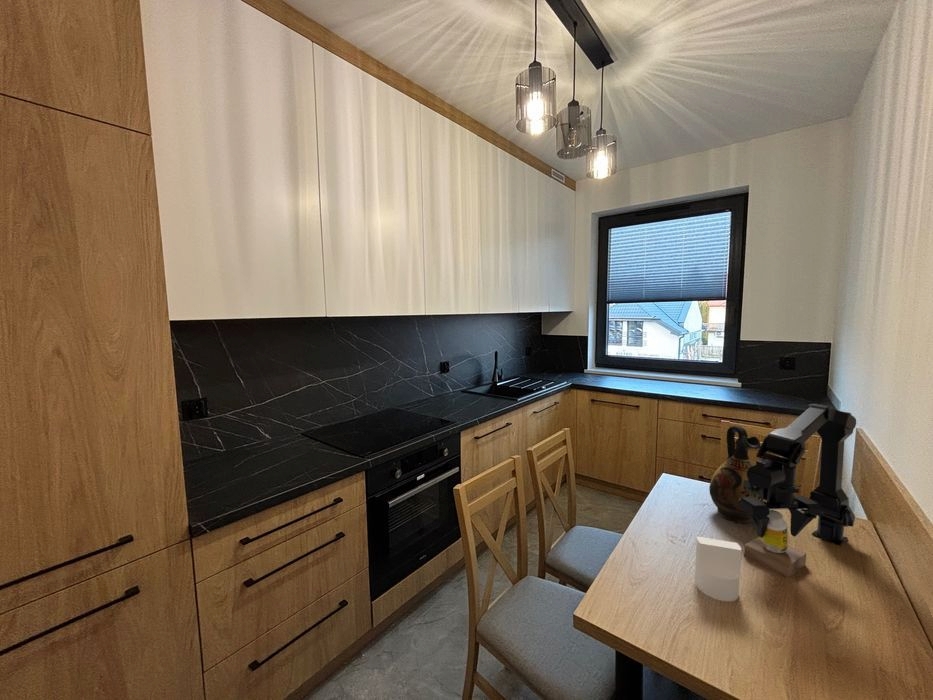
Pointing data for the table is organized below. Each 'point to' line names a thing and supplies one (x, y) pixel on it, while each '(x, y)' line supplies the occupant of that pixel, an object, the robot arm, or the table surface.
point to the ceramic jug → (734, 476)
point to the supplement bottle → (775, 533)
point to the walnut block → (775, 557)
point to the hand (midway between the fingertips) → (776, 536)
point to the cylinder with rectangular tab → (718, 568)
